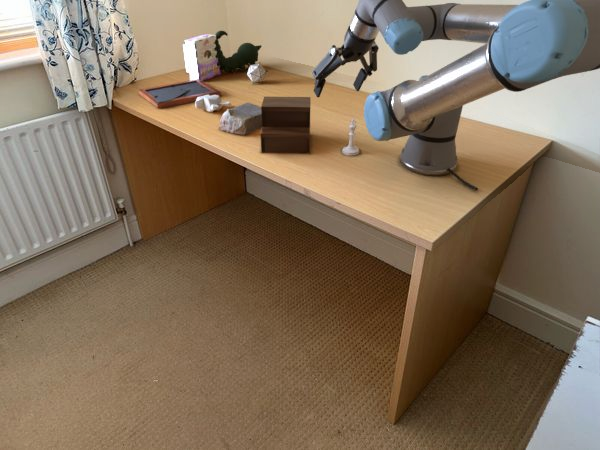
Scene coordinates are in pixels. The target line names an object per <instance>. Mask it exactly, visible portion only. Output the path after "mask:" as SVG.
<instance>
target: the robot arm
mask: <svg viewBox="0 0 600 450" xmlns="http://www.w3.org/2000/svg"><path fill="white" fill-rule="evenodd" d="M379 33H380V34H381V36H382V38H383V39H384V42H385V43H386V44H387V45H388V46H389V48H390V49H391V50H392V52H393V53H395V54H397V55H398V56H401V55H402V56H403V55H407V54H408V53H409V52H413V51H414V50H416V49H417V48H418V47H419V46H420V45H421V43H422V42H427V41H434V40H435V41H436V40H443V41H444V40H445V41H457V42H465V43H466V42H467V43H476V44H482V45H481V46H479V47H478V48H476V49H474V50H472V51H470V52H468V53H466V54H464V55H463V56H461V57H459V58H457V59H456V60H454V61H452V62H450V63H448V64H447V65H445V66H443V67H440V68H439V69H437V70H436V71H433V72H432V73H430V74H429V75H427V74H425V75H421V76H420V78H419V79H418V80H416V79H406V80H404V81H402V82H400V83H398V84H396V85H394V86H393V87H391V88H389V89H385V90H381V91H380V90H377V91H375V92H372V93H370V94H369V95H368V96H367V97H366V99H365V102H364V105H363V106H364V108H363V117H364V118H363V119H364V123H365V126H366V129H367V132H368V133H369V135H370V136H371V137H372V139H374V140H375V141H376V142H389V141H390V140H395V139H399V138H403V137H404V138H405V137H408V136H409V137H408V139H407V141H406V143H405V145H404V147H403V148H402V150H401V152H400V155H399V163H400V165H401V166H402V167H403V168H405V169H406V170H407V171H410V172H412V173H415V174H418V175H423V176H435V177H437V176H446V175H448V174H449V175H450V174H451V175H452V176H454V178H456V179H457V180H458V181H460V183H462V184H463V185H465V186H466V187H468V188H470V189H473V190H474V191H478V190H479V188H478V187H477V186H475V185H472V184H471V183H469V182H467V181H466V180H464V179H463V178H462V177H461V176H459V175H458V174H457V173H456V172H455V170H456V168H457V165H458V156H457V146H456V137H457V133H458V129H459V125H460V120H461V116H462V112H463V108H464V106H466V105H467V104H470V103H473V102H475V101H477V100H480V99H483V98H485V97H487V96H490V95H492V94H494V93H497V92H500V91H502V90H506V91H510V92H515V93H519V92H524V91H526V90H528V89H530V88H534V87H537V86H539V85H542V84H545V83H547V82H550V81H552V80H556V79H559V78H562V77H565V76H566V77H567V76H571V75H576V74H583V73H587V72H593V71H596V70H600V0H527V1H524V2H522V3H520V4H484V3H483V4H482V3H481V4H479V3H478V4H477V3H475V4H474V3H473V4H472V3H471V4H470V3H469V4H468V3H463V4H462V3H457V2H447V3H444V4H443V3H442V4H441V3H440V4H431V5H419V6H418V5H417V6H407V5H406V4H405V2H404V1H403V0H358V2H357V5H356V8H355V10H354V13H353V15H352V18H351V20H350V23H349V25H348V27H347V29H346V32H345V34H344V39H343V44H342V45H341V46H340V47H336V44H333V45H331V47H330V49H329V51H328V52H327V53H326V54H325V56H324V57H323V58H322V59H321V60H320V61H319V63H318V64H317V65H316V66H315V67H314V68H313V69H312V70H311V74H312V76H313V78H314V79H315V81H314V88H313V92H314V94H315V96H316V98H320V97H321V94H322V92H323V89H324V88H325V85H326V82H327V80H326V78H327V77H329V76H330V75H331V74H332V73H334V72H335V71H336V70H337V69H339V68H340V67H341V66H345V65H346V64H347V63H352V62H353V63H356V62H358V61H360V64H361V65H362V67H360V69H359V71H358V73H357V75H356V77H355V80H354V82H353V84H352V86H353V88H354V89H355V91H356V92H359V91H361V88H362V86H363V84H364V82H365V81H366V80H367V78H368V77H371V76H372V75H373V72H374V73H375V72H377V71H378V51H379V46H378V44H377V42H376V38H377V36H378V35H379ZM366 54H368V57H369V64H368V62H367V60H366V57H365V55H366ZM341 57H342V58H343V59H342V58H341Z"/></svg>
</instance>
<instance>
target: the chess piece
mask: <svg viewBox="0 0 600 450" xmlns="http://www.w3.org/2000/svg"><path fill="white" fill-rule="evenodd" d="M349 123H350V124H349V125H348V127H349V132H348V134H347V135H349V141H348V145H347V146H344V147H343V148H342V151H341V152H342V153H343V155H346V156H358V155H359V154H360V149H359V148H358V147H357V146H356V145H355V136H356V135H357V133H356V132H355V131H356V128H357V125H356V124H357V121H356V120H355V118H352V119H351V120H349Z"/></svg>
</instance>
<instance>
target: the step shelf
mask: <svg viewBox="0 0 600 450" xmlns="http://www.w3.org/2000/svg"><path fill="white" fill-rule="evenodd" d="M260 107H261V113H262V128H261V129H260V135H259V136H260V151H261V154H308V155H309V154H310V152H311V151H310V147H311V96H263V99H262V103H261V106H260Z"/></svg>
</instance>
